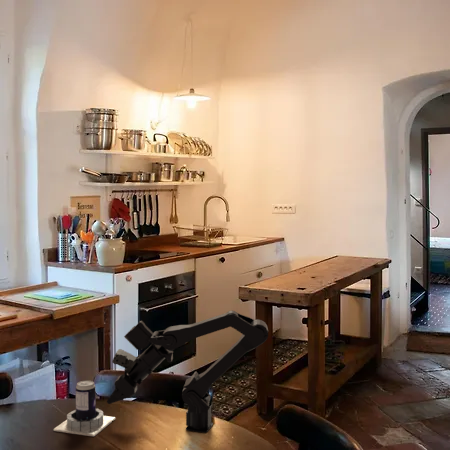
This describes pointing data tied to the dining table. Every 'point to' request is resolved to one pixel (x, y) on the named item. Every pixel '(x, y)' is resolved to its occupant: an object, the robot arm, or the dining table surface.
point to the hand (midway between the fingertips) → (111, 397)
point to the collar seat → (84, 424)
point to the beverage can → (85, 400)
